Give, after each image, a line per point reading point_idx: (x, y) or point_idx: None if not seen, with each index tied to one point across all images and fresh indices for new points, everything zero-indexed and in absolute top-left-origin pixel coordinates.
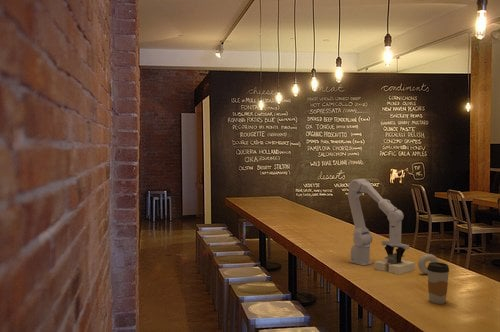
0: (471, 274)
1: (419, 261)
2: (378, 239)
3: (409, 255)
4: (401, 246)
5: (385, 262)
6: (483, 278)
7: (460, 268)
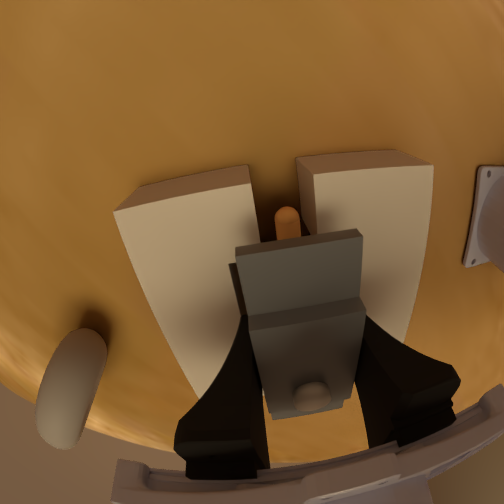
0: None
1: (57, 372)
2: None
3: None
4: (175, 495)
5: None
6: None
7: (154, 447)
